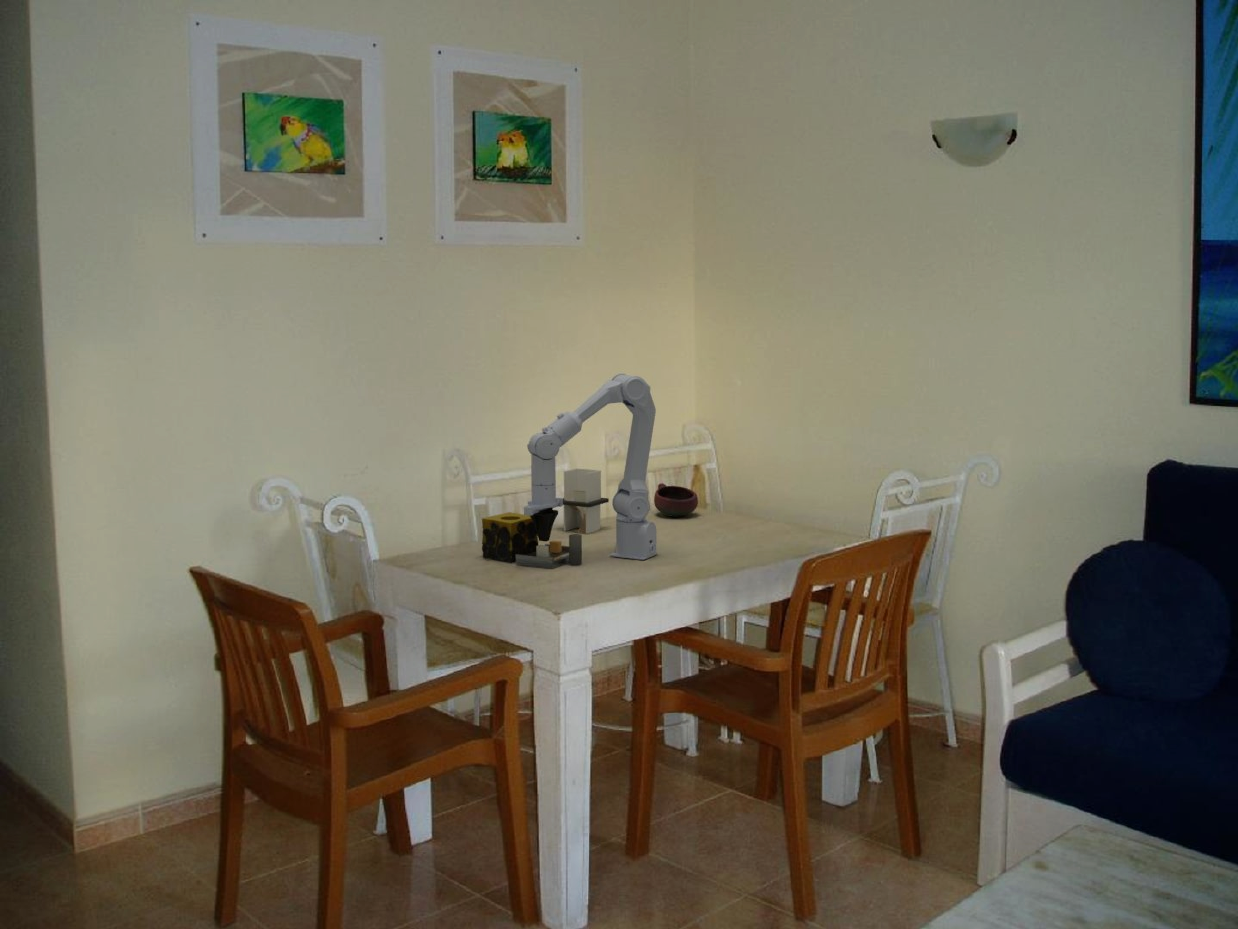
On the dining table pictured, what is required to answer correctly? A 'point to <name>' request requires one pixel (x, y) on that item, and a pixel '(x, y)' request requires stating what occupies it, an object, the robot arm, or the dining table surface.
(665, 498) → the bowl
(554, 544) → the tan rectangular prism
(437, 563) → the dining table surface
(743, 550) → the dining table surface
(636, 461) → the robot arm
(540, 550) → the upright cream block
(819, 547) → the dining table surface
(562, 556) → the grey tray
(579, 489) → the model fireplace
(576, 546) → the post
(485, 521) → the candle
